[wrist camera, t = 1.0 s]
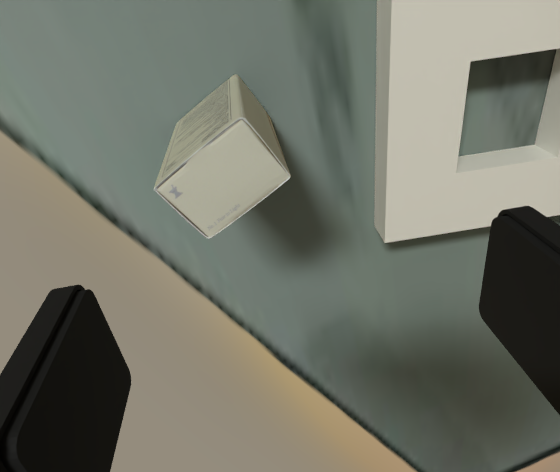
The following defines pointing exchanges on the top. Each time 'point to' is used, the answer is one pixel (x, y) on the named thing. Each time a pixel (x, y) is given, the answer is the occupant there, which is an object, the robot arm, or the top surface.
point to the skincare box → (221, 159)
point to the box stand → (456, 116)
